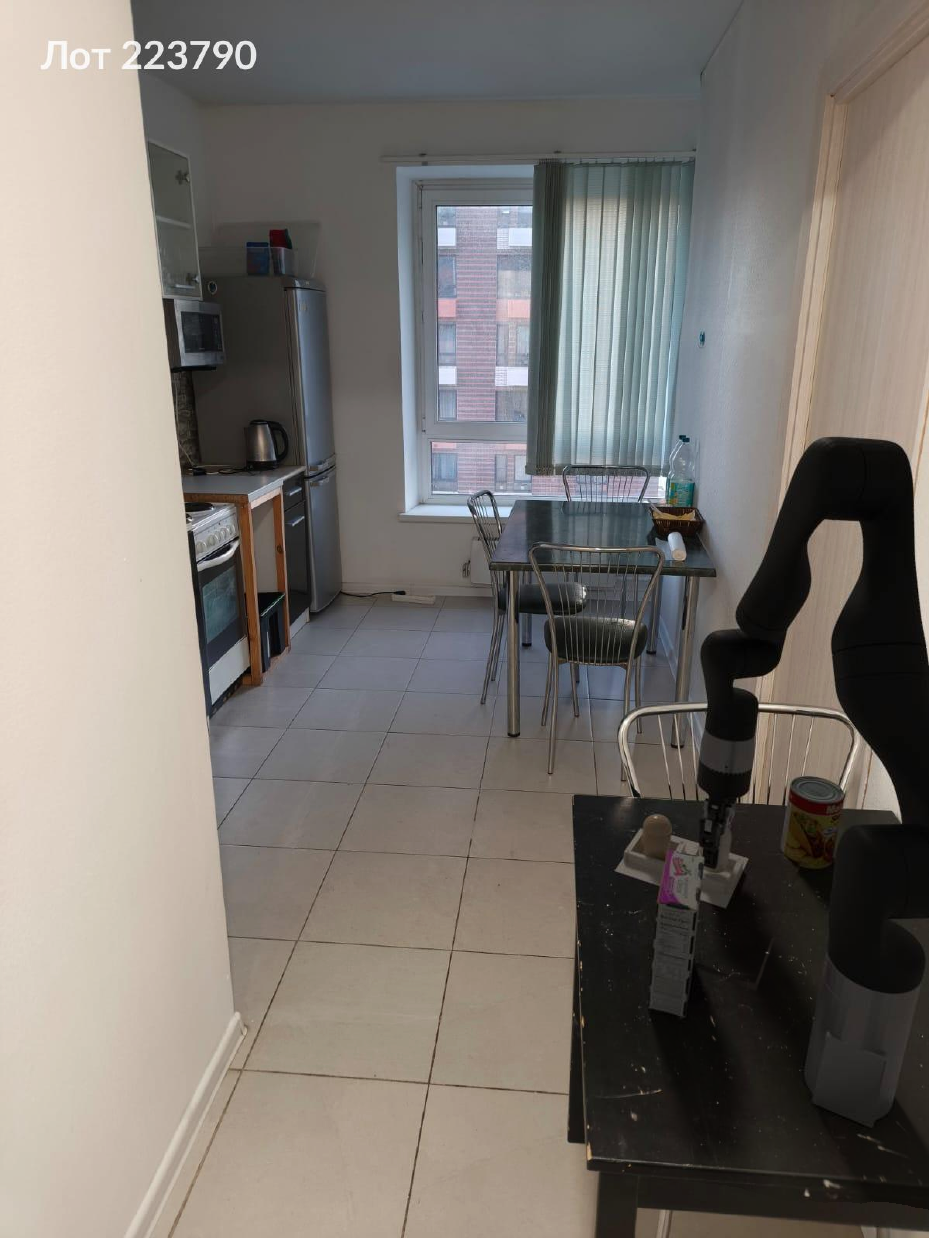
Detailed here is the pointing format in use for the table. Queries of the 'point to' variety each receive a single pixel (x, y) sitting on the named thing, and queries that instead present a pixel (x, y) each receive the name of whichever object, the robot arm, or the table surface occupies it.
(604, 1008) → the table surface
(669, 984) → the candy bar box
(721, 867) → the white capsule
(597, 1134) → the table surface
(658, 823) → the tan capsule
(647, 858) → the white holder tray
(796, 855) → the canned food
